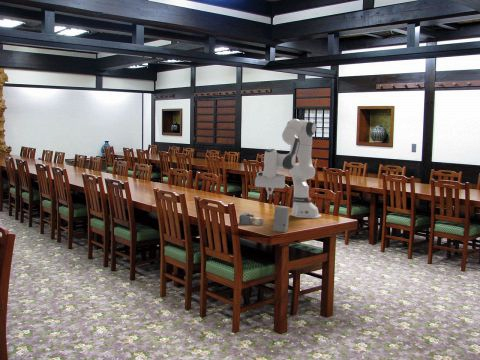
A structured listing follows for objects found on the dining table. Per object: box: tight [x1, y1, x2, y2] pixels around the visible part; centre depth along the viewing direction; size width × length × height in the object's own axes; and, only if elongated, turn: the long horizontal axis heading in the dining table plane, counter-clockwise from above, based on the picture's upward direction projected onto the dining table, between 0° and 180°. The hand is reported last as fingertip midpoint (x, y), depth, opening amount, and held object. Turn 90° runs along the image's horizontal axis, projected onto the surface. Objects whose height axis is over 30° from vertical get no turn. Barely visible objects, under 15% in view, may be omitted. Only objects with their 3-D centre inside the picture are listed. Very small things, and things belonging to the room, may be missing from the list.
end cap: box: [238, 212, 255, 225], centre depth 346 cm, size 7×9×6 cm
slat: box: [250, 216, 265, 226], centre depth 344 cm, size 14×4×4 cm, turn 69°
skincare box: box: [272, 205, 290, 233], centre depth 323 cm, size 8×7×16 cm
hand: (269, 194), depth 339 cm, fingers closed
